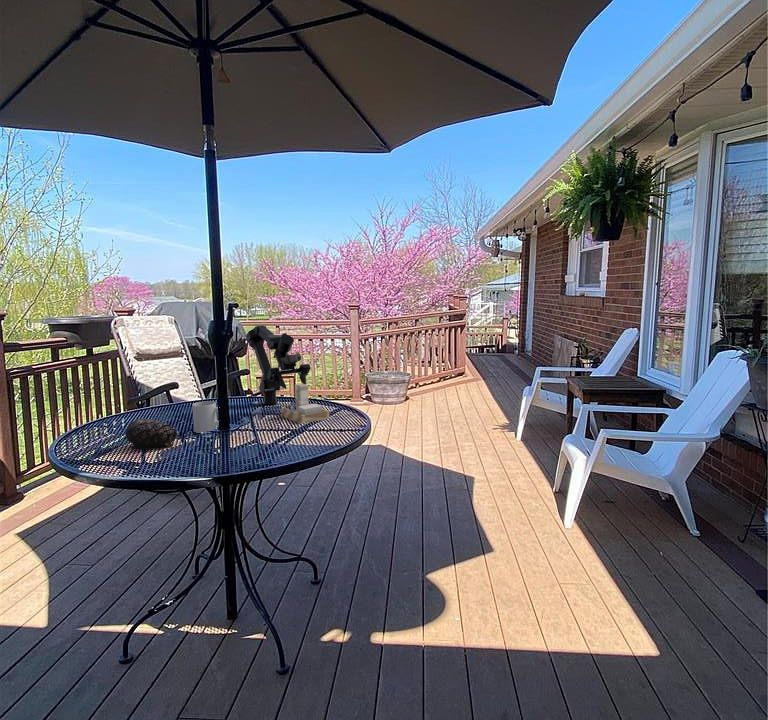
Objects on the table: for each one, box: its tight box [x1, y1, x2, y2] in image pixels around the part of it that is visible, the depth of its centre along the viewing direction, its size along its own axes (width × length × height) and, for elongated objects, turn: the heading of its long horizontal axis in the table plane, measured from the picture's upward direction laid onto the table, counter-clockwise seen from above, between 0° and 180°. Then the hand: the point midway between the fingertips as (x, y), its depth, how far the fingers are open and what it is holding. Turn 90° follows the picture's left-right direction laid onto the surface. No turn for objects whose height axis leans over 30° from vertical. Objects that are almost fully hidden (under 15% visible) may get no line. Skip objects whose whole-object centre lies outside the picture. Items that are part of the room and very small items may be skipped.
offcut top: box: [298, 403, 323, 415], centre depth 196 cm, size 6×8×2 cm
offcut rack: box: [279, 403, 332, 425], centre depth 200 cm, size 20×14×4 cm
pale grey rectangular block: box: [294, 383, 310, 412], centre depth 201 cm, size 5×4×13 cm
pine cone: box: [125, 417, 178, 450], centre depth 167 cm, size 10×18×10 cm, turn 91°
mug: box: [192, 400, 220, 433], centre depth 183 cm, size 12×8×11 cm
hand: (295, 387), depth 205 cm, fingers open, 9 cm apart
